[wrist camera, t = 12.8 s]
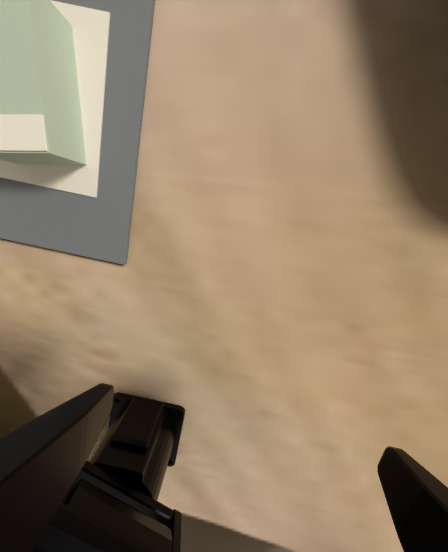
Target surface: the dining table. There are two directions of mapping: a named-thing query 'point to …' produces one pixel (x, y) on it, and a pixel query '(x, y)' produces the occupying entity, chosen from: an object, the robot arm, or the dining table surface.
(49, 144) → the sage block
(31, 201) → the placemat
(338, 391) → the dining table surface
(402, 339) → the dining table surface
